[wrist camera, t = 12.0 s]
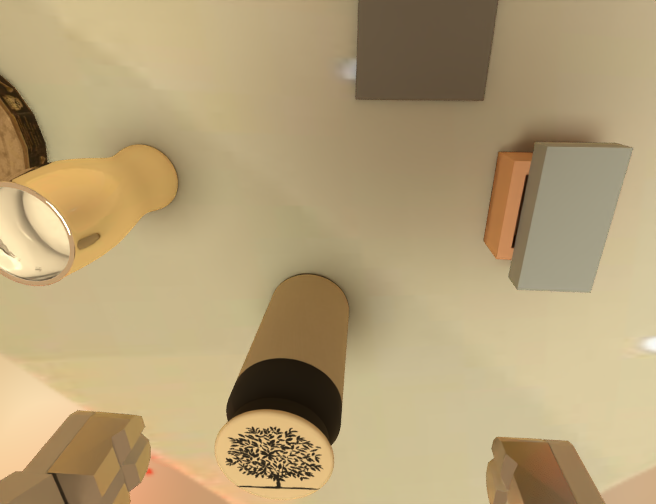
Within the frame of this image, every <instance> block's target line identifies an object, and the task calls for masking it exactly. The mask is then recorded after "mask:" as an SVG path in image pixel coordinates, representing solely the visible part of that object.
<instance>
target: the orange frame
mask: <svg viewBox="0 0 656 504" xmlns="http://www.w3.org/2000/svg"><path fill="white" fill-rule="evenodd" d="M532 155H533V152H498V158H497V164H496V170H495V176H494V182H493V188H492V194H491V200H490V205H489V211H488V217H487V223H486V229H485V235H484V242H485V244H486V245H487V247H488V248H489V249H490V251H491V252H492V254H493V255H494V256H495V258H496V259H508V260H512V256H513V251H514V246H515V241H516V236H517V231H518V226H519V221H520V216H521V210H522V205H523V200H524V195H525V190H526V185H527V180H528V175H529V170H530V165H531V160H532Z"/></svg>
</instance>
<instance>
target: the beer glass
mask: <svg viewBox="0 0 656 504" xmlns="http://www.w3.org/2000/svg"><path fill="white" fill-rule="evenodd" d="M177 189H178V178H177V173H176V171H175V168H174V166H173V165H172V163H171V161H170V160H169V159H168V158H167V157H166V156H165V155H164V154H163V153H162V152H160V151H159V150H157V149H155V148H153V147H151V146H147V145H141V144H136V145H131V146H128V147H125V148H124V149H122V150H120V151H119V152H118V153H116V154H115V155H114V156H112V157H108V158H78V159H68V160H59V161H54V162H50V163H45V164H41V165H38V166H35V167H32V168H29V169H25V170H23V171H20V172H18V173H15V174H12V175H10V176H7V177H5V178H3V179H0V274H2V275H3V276H5V277H7V278H9V279H11V280H13V281H16V282H18V283H22V284H26V285H31V286H45V285H50V284H53V283H56V282H58V281H60V280H61V279H63V278H64V277H66V276H68V275H69V274H71V273H73V272H75V271H77V270H79V269H81V268H83V267H85V266H86V265H88V264H90V263H92V262H93V261H95V260H97V259H98V258H100V257H101V256H103V255H104V254H106V253H107V252H108V251H110V250H111V249H112V248H114V247H115V246H116V245H117V244H118V243H119V242H120V241H121V240H122V239H123V238H124V237H125V236H126V235H127V234H128V233H129V232H130V231H131V230H132V228H133V227H134V226H135V225H136V224H137V222H138V221H139V220H140V219H141V218H142V217H143V216H144V215H145V214H146V213H148V212H152V211H156V210H159V209H162V208H164V207H166V206H167V205H169V204H170V203H171V202H172V200H173V199H174V197H175V195H176V193H177Z"/></svg>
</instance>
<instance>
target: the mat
mask: <svg viewBox="0 0 656 504" xmlns="http://www.w3.org/2000/svg"><path fill="white" fill-rule="evenodd" d="M497 6H498V0H359V6H358V38H357V71H356V99H380V100H472V101H483V100H484V94H485V87H486V80H487V73H488V67H489V60H490V53H491V46H492V40H493V33H494V26H495V19H496V13H497Z"/></svg>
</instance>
